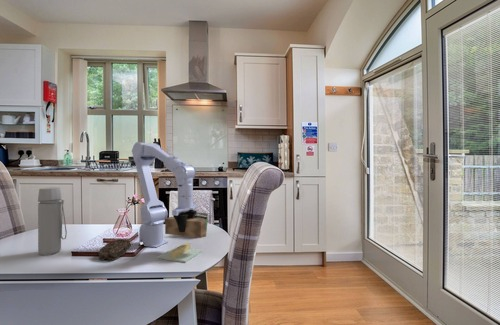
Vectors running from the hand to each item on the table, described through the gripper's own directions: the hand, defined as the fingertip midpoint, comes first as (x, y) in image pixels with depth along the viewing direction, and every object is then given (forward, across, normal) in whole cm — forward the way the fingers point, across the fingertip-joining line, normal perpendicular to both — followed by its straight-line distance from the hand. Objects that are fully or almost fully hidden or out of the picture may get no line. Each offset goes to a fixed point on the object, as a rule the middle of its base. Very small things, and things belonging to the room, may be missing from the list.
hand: (185, 230), depth 104 cm
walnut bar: (+2, 0, 0) cm, 2 cm away
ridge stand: (+8, -4, 0) cm, 9 cm away
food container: (+9, +24, +7) cm, 26 cm away
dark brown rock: (+9, -12, +23) cm, 28 cm away
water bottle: (+9, -18, +48) cm, 52 cm away
